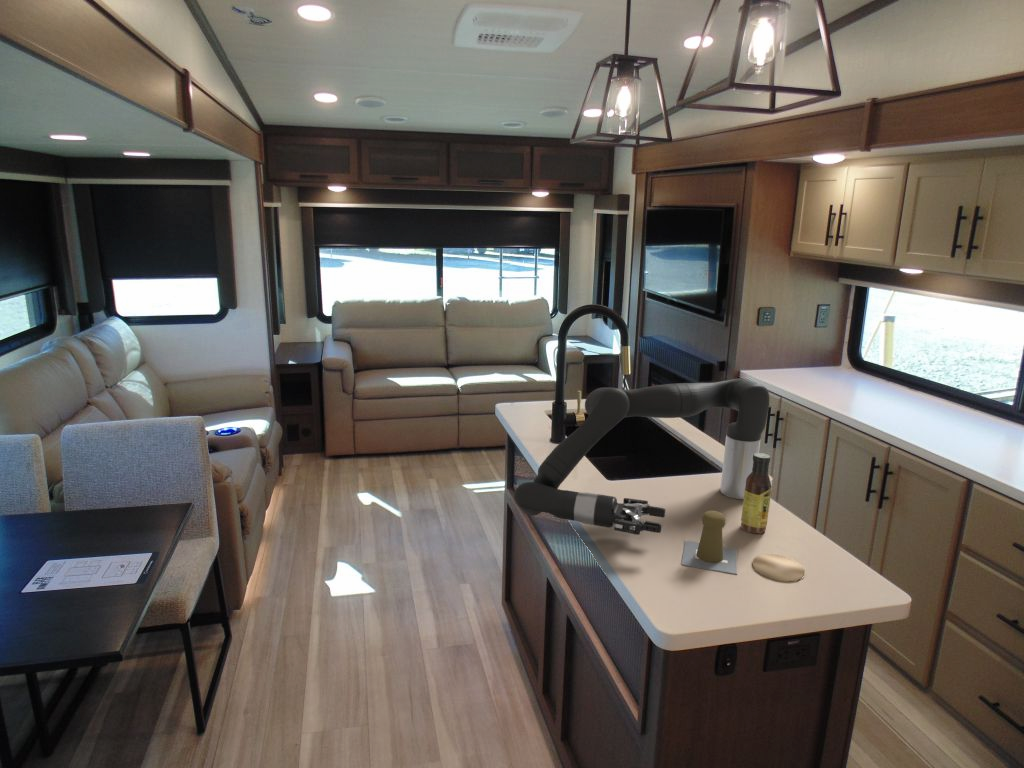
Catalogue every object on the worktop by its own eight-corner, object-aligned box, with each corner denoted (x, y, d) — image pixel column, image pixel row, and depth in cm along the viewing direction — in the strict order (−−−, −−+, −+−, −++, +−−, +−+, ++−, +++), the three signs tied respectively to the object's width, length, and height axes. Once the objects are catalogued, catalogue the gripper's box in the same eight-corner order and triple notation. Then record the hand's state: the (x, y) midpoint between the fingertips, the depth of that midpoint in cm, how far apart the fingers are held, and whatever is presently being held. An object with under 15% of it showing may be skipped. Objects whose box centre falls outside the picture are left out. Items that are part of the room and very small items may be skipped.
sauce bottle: (764, 536, 167) (774, 462, 162) (738, 531, 170) (747, 457, 165) (767, 526, 173) (776, 453, 168) (741, 521, 175) (750, 449, 170)
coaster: (752, 553, 159) (752, 550, 159) (802, 561, 156) (802, 558, 156) (753, 576, 149) (753, 573, 149) (806, 585, 146) (806, 583, 145)
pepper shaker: (726, 563, 154) (731, 519, 151) (700, 562, 154) (704, 518, 151) (719, 550, 159) (723, 507, 157) (693, 549, 160) (697, 507, 157)
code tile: (685, 541, 164) (685, 540, 164) (736, 549, 160) (736, 548, 160) (681, 565, 153) (681, 564, 153) (736, 574, 149) (736, 573, 149)
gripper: (590, 507, 155) (661, 518, 151) (601, 484, 168) (667, 494, 164) (588, 536, 157) (658, 548, 152) (599, 511, 170) (664, 522, 166)
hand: (663, 520), depth 158 cm, fingers open, 8 cm apart
